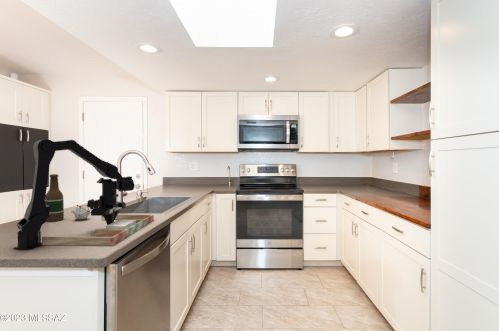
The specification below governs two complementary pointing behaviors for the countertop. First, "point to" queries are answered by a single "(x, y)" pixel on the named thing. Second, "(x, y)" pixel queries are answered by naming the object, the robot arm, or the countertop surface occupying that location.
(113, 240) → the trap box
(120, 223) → the white rectangular box
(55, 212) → the beer bottle
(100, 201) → the robot arm
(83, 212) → the geometric wire polyhedron
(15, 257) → the countertop surface
